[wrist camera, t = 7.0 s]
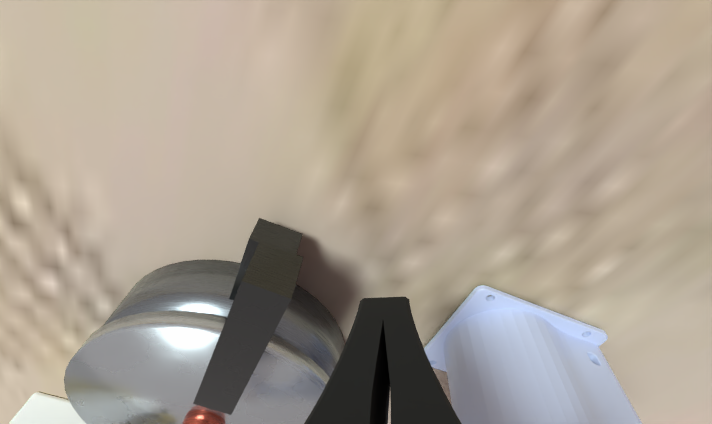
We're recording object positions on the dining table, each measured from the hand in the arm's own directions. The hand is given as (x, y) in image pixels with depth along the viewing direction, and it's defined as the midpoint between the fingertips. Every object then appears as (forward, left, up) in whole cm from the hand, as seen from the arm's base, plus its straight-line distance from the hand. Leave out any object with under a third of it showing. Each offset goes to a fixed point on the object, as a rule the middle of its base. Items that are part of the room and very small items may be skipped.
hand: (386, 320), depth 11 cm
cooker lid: (+4, +14, -5) cm, 16 cm away
